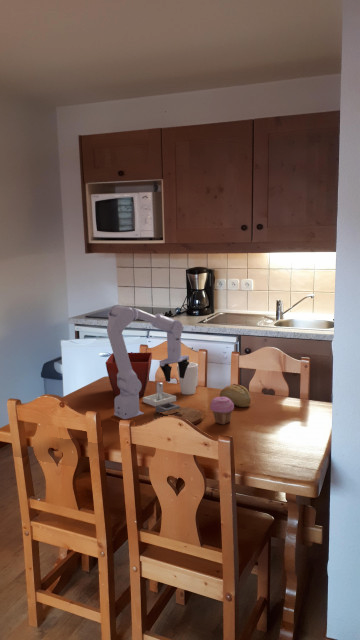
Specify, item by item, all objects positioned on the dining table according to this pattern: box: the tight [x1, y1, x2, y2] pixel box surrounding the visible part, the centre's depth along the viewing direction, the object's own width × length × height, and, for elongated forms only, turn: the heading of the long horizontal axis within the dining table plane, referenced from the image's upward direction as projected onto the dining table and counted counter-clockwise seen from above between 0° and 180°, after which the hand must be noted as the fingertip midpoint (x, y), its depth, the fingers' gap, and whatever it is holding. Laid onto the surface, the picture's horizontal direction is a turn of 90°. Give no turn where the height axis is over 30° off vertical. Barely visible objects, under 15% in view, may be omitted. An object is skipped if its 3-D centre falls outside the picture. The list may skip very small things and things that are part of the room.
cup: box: [154, 402, 181, 413], centre depth 206 cm, size 7×7×3 cm
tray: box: [142, 391, 177, 407], centre depth 220 cm, size 11×9×2 cm
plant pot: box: [105, 352, 153, 398], centre depth 233 cm, size 19×19×17 cm
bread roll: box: [219, 383, 252, 408], centre depth 215 cm, size 10×15×8 cm, turn 43°
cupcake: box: [210, 396, 235, 425], centre depth 193 cm, size 9×9×10 cm
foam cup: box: [176, 361, 199, 396], centre depth 232 cm, size 10×9×13 cm
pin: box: [155, 381, 164, 401], centre depth 219 cm, size 3×3×8 cm
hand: (175, 379), depth 216 cm, fingers open, 7 cm apart
